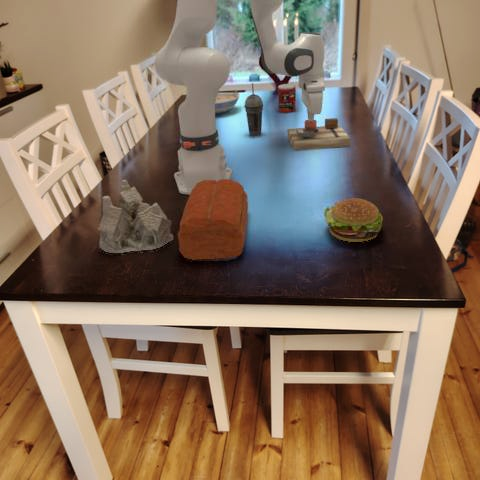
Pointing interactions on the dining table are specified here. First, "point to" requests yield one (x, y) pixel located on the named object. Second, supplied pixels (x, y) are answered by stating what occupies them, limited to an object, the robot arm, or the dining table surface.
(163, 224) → the ceramic cottage
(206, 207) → the bread
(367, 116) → the dining table surface
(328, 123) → the walnut slider knob
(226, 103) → the ramen bowl
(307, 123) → the brick-red push button
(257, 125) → the beverage cup
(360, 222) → the food
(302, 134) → the charcoal rocker switch
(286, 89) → the canned food
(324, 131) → the control board
